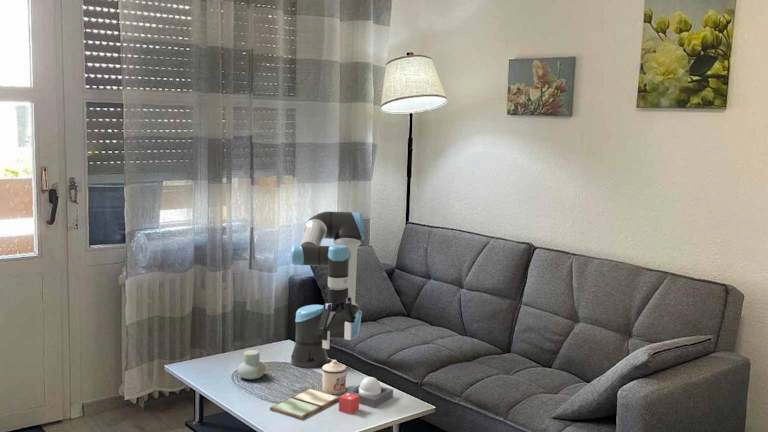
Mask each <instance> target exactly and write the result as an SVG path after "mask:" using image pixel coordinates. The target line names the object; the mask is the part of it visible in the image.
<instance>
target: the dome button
mask: <svg viewBox="0 0 768 432" xmlns="http://www.w3.org/2000/svg"><path fill="white" fill-rule="evenodd" d="M359 385H360V387H359V394H362V395H366V396H370V397H373V398H374V397H375V396H377V395H379V394H381V387H380V386H381V384H380V382H379V380H378V379H377V378H376V377H373V376H367V377H365V378H363V379H362V381H360V384H359Z"/></svg>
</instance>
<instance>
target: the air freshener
mask: <svg viewBox="0 0 768 432" xmlns="http://www.w3.org/2000/svg"><path fill="white" fill-rule="evenodd" d="M266 369H267V367H266V365H265V363H263V362H262V361H260V352H259V351H258V350H255V349H249V350H245V351H244V352H243V362H241V363H239V365H238V368H237V369H236V370H237V374H238V376H239V377H241V378H243V379H246V380H258V379H260V378H261V377H263V376H264V374H265V373H266Z"/></svg>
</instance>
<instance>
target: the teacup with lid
mask: <svg viewBox="0 0 768 432" xmlns="http://www.w3.org/2000/svg"><path fill="white" fill-rule="evenodd" d="M321 370H322V381H321V382H322V384H321V385H322V388H321V389H322V392H323V391H324V392H325V393H328V394H334V395H335V396H338V395H341V394H342V395H343V393H344V394H345V392H346V390H347V389H346V388H347V385H346V383H347V380H346V378H347V377H348V376H347V374H348V370H347V366H346V365H345V364H342V363H340V362H338V361H337V359H332V360H331V362H328V363H327V364H325V365H323V366H321Z"/></svg>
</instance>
